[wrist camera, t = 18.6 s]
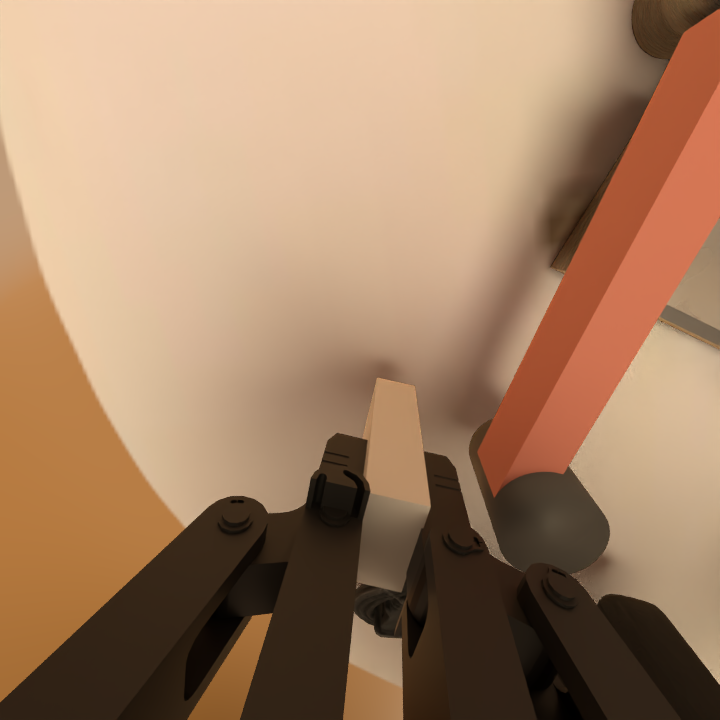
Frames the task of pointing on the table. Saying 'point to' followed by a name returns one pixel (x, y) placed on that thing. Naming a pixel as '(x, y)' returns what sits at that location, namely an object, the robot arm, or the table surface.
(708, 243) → the metal tray
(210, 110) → the table surface
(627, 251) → the lever
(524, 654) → the robot arm
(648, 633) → the milk frother
